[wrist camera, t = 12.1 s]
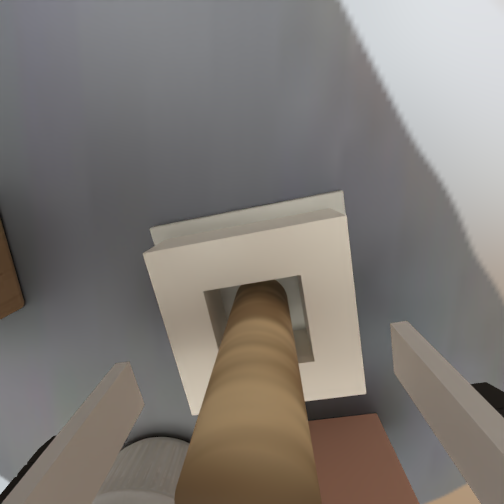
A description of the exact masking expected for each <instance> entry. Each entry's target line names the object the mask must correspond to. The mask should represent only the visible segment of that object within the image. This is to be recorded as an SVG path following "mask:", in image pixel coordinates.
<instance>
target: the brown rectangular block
mask: <svg viewBox="0 0 504 504" xmlns="http://www.w3.org/2000/svg"><path fill="white" fill-rule="evenodd" d="M308 424H309V430H310V436H311V441H312V447H313V453H314V459H315V465H316V471H317V477H318V483H319V489H320V495H321V501H322V504H419V502H418V500H417V498H416V496H415V493H414V491H413V489H412V487H411V485H410V483H409V481H408V479H407V477H406V474H405V472H404V470H403V468H402V466H401V464H400V462H399V460H398V458H397V455H396V453H395V451H394V449H393V447H392V445H391V443H390V441H389V439H388V436H387V434H386V432H385V430H384V428H383V426H382V424H381V422H380V420H379V417H378V415H377V413H373V414H365V415H356V416H348V417H339V418H330V419H322V420H313V421H308Z"/></svg>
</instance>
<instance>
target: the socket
mask: <svg viewBox="0 0 504 504" xmlns="http://www.w3.org/2000/svg"><path fill="white" fill-rule="evenodd" d="M149 229H150V232H151V235H152V239H153V242H154V247H152V248H151V249H149V250H147V251H146V252H144V253H143V256H144V260H145V263H146V266H147V269H148V273H149V276H150V279H151V282H152V286H153V289H154V292H155V295H156V299H157V302H158V305H159V308H160V312H161V315H162V318H163V321H164V325H165V328H166V331H167V334H168V338H169V341H170V344H171V347H172V351H173V354H174V357H175V360H176V364H177V367H178V370H179V374H180V377H181V380H182V383H183V387H184V390H185V393H186V396H187V400H188V403H189V406H190V409H191V413H192V415H199V412H200V409H201V406H202V402H203V399H204V396H205V393H206V390H207V386H208V383H209V380H210V377H211V373H212V370H213V367H214V364H215V361H216V357H217V354H218V351H219V348H220V344H221V341H222V338H223V335H224V332H225V328H226V325H227V322H228V319H229V315H230V312H231V309H232V306H233V303H234V299H235V296H236V293H237V290H238V288H239V287H240V286H241V285H244V284H250V283H256V282H261V281H267V280H273V279H275V280H276V281H278V282H279V283H280V284H281V285H282V286H283V288H284V289H285V291H286V294H287V299H288V305H289V311H290V317H291V322H292V328H293V334H294V340H295V346H296V352H297V358H298V364H299V370H300V376H301V382H302V388H303V394H304V400H305V401H313V400H321V399H329V398H337V397H345V396H353V395H361V394H366V386H365V377H364V368H363V359H362V350H361V341H360V332H359V323H358V314H357V305H356V296H355V287H354V278H353V269H352V260H351V251H350V243H349V234H348V225H347V216H346V213H345V204H344V195H343V191H341V190H338V191H333V192H328V193H323V194H317V195H312V196H307V197H302V198H297V199H292V200H287V201H282V202H276V203H271V204H266V205H261V206H256V207H251V208H246V209H241V210H235V211H230V212H225V213H220V214H215V215H210V216H205V217H199V218H194V219H189V220H184V221H179V222H174V223H169V224H164V225H158V226H154V227H152V228H149Z"/></svg>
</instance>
